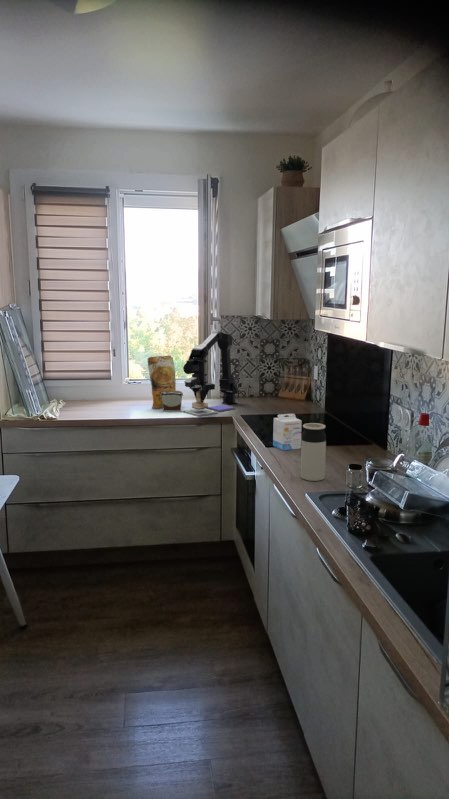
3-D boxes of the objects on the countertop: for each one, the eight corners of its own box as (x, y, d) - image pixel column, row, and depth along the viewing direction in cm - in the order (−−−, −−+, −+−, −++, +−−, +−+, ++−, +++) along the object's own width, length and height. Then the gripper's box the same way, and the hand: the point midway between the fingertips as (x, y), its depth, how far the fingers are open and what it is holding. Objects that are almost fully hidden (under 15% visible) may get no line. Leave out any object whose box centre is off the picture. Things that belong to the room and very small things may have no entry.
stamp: (201, 406, 291) (200, 390, 290) (208, 408, 287) (207, 391, 285) (191, 407, 288) (191, 391, 286) (198, 409, 283) (198, 393, 281)
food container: (185, 408, 298) (185, 390, 296) (183, 411, 292) (183, 392, 290) (163, 408, 300) (162, 390, 298) (160, 410, 294) (160, 392, 292)
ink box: (282, 451, 216) (283, 417, 214) (272, 445, 224) (272, 413, 221) (301, 448, 219) (302, 415, 217) (290, 443, 227) (291, 411, 225)
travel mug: (316, 483, 179) (317, 429, 175) (296, 478, 184) (297, 425, 181) (329, 477, 184) (331, 425, 181) (309, 472, 190) (310, 421, 186)
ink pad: (221, 406, 304) (221, 404, 304) (234, 409, 296) (234, 407, 296) (206, 408, 297) (206, 407, 297) (219, 412, 289) (219, 410, 289)
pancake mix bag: (145, 407, 301) (143, 357, 296) (173, 403, 314) (172, 354, 308) (152, 409, 296) (151, 357, 291) (180, 404, 309) (179, 355, 304)
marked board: (200, 409, 297) (200, 407, 297) (217, 413, 286) (217, 411, 286) (182, 412, 290) (182, 410, 289) (199, 416, 278) (199, 415, 278)
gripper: (176, 371, 286) (177, 400, 289) (198, 375, 272) (198, 406, 274) (193, 369, 293) (194, 398, 296) (215, 373, 279) (215, 403, 282)
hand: (199, 401), depth 287 cm, fingers closed on stamp, 4 cm apart
